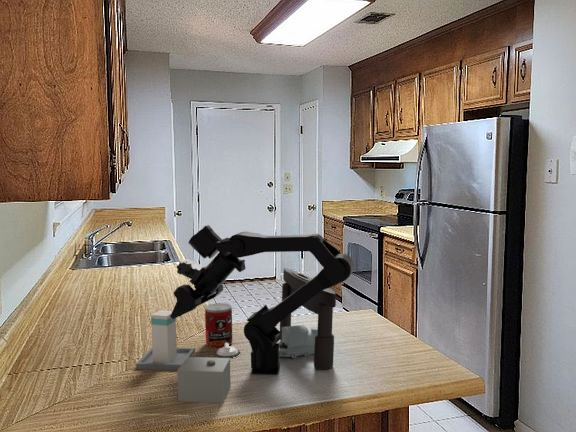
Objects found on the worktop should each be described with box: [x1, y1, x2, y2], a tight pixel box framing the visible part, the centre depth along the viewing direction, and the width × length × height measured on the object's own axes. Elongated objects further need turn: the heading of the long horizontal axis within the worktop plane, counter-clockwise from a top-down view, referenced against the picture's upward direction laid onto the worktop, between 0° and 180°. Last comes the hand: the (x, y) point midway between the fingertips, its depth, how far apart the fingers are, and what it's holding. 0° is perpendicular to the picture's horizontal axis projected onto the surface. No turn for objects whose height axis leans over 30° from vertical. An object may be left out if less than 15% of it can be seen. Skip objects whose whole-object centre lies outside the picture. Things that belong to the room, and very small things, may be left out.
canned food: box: [204, 302, 233, 348], centre depth 148 cm, size 8×8×11 cm
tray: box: [135, 347, 196, 371], centre depth 136 cm, size 12×12×2 cm
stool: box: [279, 268, 337, 371], centre depth 140 cm, size 16×21×33 cm
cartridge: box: [150, 309, 178, 363], centre depth 135 cm, size 5×5×12 cm
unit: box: [176, 356, 232, 404], centre depth 116 cm, size 10×8×8 cm
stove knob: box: [213, 343, 241, 359], centre depth 141 cm, size 7×7×3 cm
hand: (180, 312), depth 134 cm, fingers open, 9 cm apart
